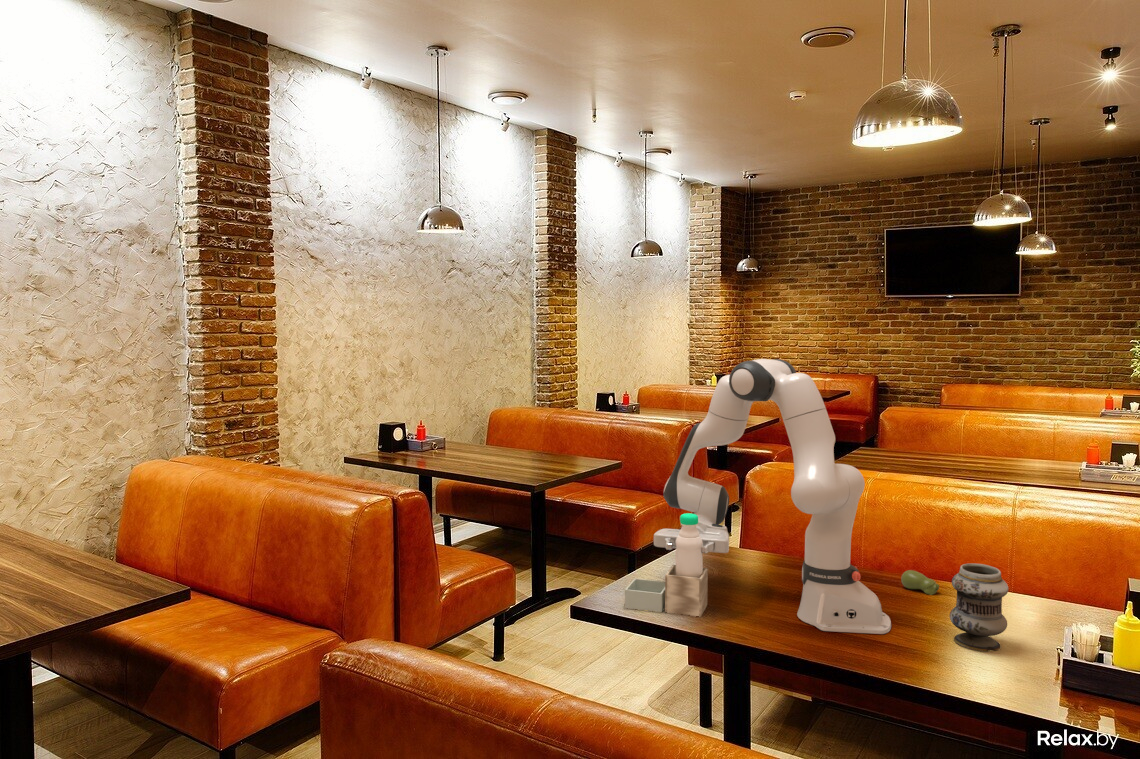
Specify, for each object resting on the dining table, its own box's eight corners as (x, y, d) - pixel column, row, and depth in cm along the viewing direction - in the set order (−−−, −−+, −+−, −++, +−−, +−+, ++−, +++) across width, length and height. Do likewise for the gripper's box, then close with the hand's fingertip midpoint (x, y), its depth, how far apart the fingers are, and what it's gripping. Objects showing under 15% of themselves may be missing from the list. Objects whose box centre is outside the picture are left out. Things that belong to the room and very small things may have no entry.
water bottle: (701, 603, 212) (701, 511, 211) (703, 613, 205) (703, 518, 204) (675, 603, 213) (675, 511, 211) (676, 612, 206) (675, 517, 204)
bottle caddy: (670, 600, 216) (670, 582, 216) (661, 612, 207) (661, 593, 206) (634, 596, 219) (634, 578, 219) (624, 608, 210) (624, 589, 210)
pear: (907, 565, 228) (943, 578, 221) (904, 582, 229) (939, 596, 222) (900, 569, 224) (936, 583, 217) (896, 587, 225) (932, 601, 218)
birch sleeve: (707, 604, 212) (707, 568, 212) (700, 617, 203) (701, 578, 203) (672, 600, 215) (672, 564, 215) (665, 612, 207) (665, 575, 206)
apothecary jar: (976, 656, 179) (978, 578, 178) (937, 636, 190) (939, 563, 189) (1018, 650, 182) (1021, 573, 181) (978, 630, 194) (980, 558, 193)
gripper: (659, 520, 224) (647, 533, 211) (732, 526, 217) (724, 540, 204) (659, 542, 224) (647, 556, 211) (732, 549, 217) (724, 564, 204)
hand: (686, 548), depth 208 cm, fingers open, 8 cm apart
